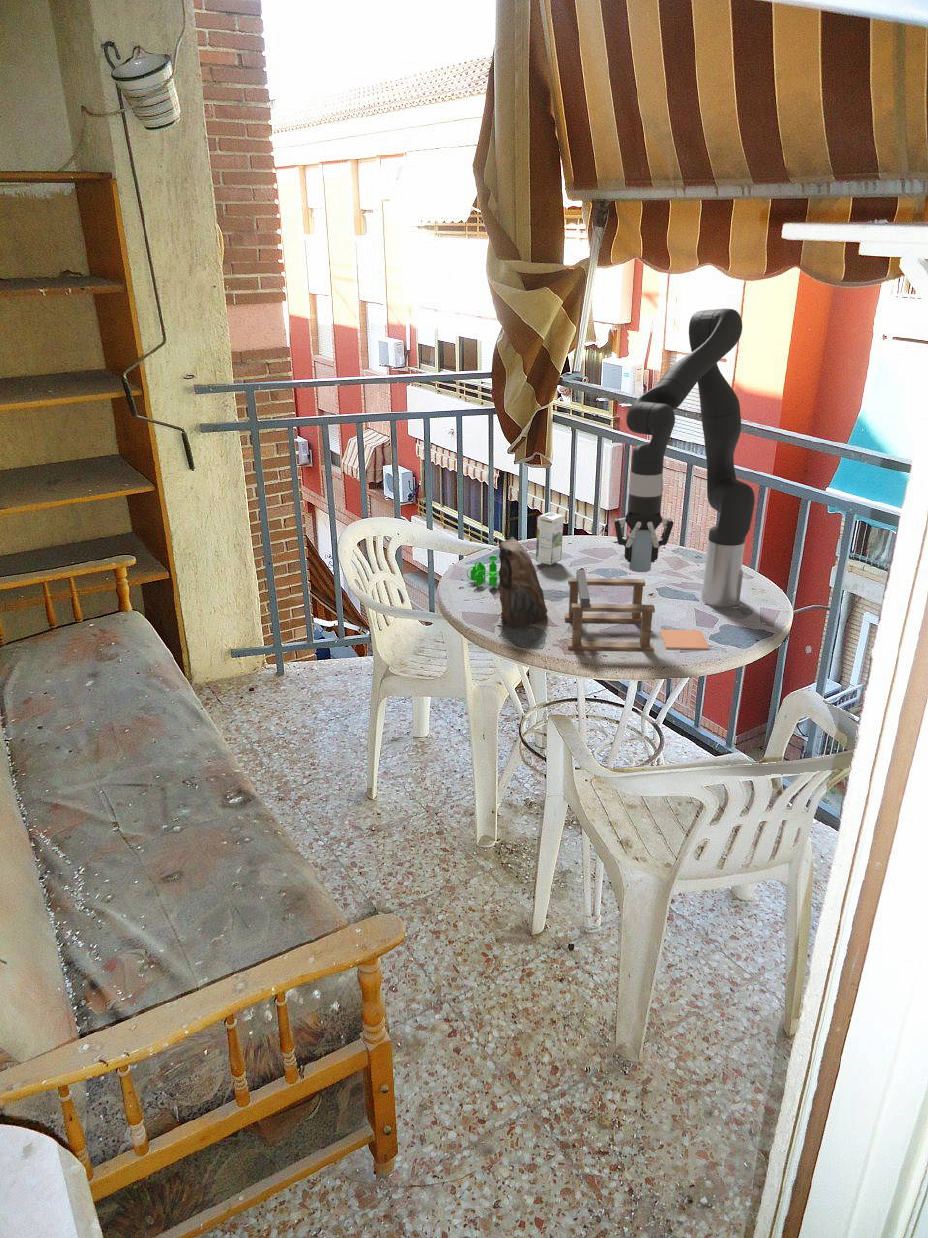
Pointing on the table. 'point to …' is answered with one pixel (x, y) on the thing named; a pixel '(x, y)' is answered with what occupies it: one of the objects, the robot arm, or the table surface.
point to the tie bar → (582, 588)
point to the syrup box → (549, 538)
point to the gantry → (610, 616)
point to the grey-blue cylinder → (641, 551)
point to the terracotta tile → (683, 639)
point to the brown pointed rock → (519, 586)
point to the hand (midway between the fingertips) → (640, 560)
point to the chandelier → (480, 571)
